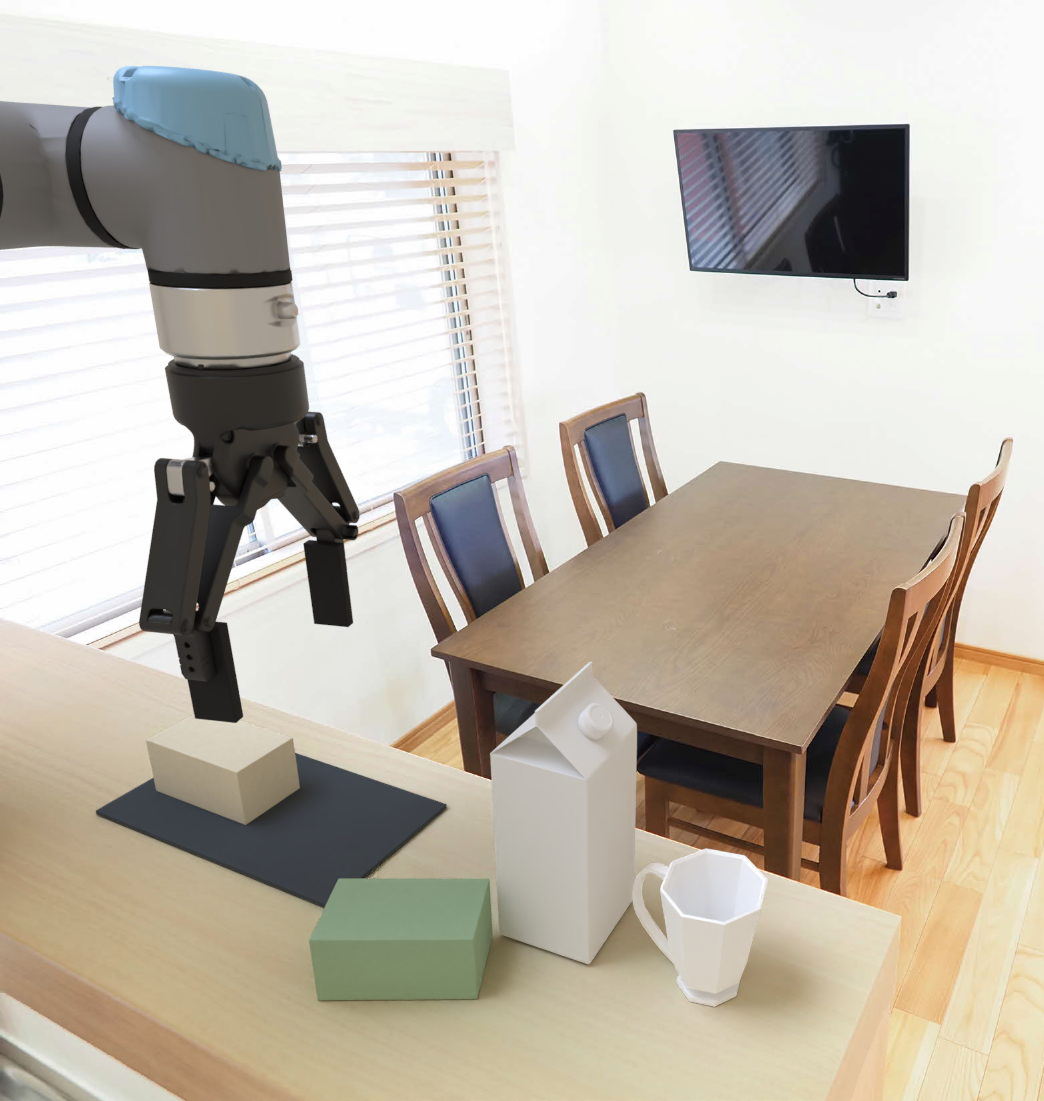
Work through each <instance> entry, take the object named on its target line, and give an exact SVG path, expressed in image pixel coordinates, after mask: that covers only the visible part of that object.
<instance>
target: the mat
mask: <svg viewBox="0 0 1044 1101" xmlns="http://www.w3.org/2000/svg"><path fill="white" fill-rule="evenodd" d="M295 756H296V763H297V771H298V778H299V785H300V788H299V789H298V790H296V791H295V792H293V793H292V794H290V795H289V796H288V797H286V798H285V799H283V800H282V801H280V802H279V803H277V804H276V805H274V806H273V807H271V808H270V809H269V810H267V811H266V812H264V813H263V814H261V815H260V816H258V817H257V818H255V819H254V820H252V821H251V822H250V823H248V824H247V825H244V824H241V823H239V822H236V821H234V820H231V819H228V818H226V817H223V816H221V815H218V814H215V813H213V812H210V811H208V810H205V809H202V808H200V807H197V806H195V805H192V804H189V803H187V802H184V801H182V800H179V799H176V798H174V797H171V796H169V795H166V794H163V793H161V792H158V791H156V787H155V782H154V777H151V778H150V779H148V780H146V781H145V782H143V783H141V784H140V785H138V786H136V787H134V788H133V789H131V790H129V791H128V792H125V793H124V794H122V795H120V796H119V797H116V798H115V799H113V800H112V801H110V802H108V803H107V804H104V805H103V806H102V807H101V806H100V807H99V808H98V809H96V810H95V815H96V816H99V817H102V818H104V819H106V820H109V821H111V822H113V823H116V824H118V825H120V826H124V827H126V828H128V829H131V830H133V831H136V832H138V833H139V834H143V835H146V836H148V837H150V838H152V839H155V840H157V841H160V842H163V843H165V844H167V845H170V846H172V847H175V848H177V849H179V850H182V851H184V852H187V853H189V854H191V855H194V856H196V857H199V858H202V859H204V860H206V861H209V862H211V863H214V864H216V865H219V866H221V867H224V868H225V869H228V870H230V871H233V872H235V873H238V874H240V875H243V876H246V877H248V878H250V879H253V880H255V881H258V882H260V883H262V884H265V885H267V886H270V887H272V888H275V889H277V890H280V891H282V892H285V893H287V894H289V895H292V896H294V897H297V898H299V899H302V900H304V901H306V902H309V903H312V904H314V905H316V906H318V907H321V908H323V909H324V908H325V906H326V904H327V902H328V899H329V897H330V895H331V893H332V891H333V889H334V887H335V885H336V883H337V881H338V879H366V878H367V877H368V876H369V875H371V874H372V873H373V872H374V871H375V870H376V869H377V868H378V867H380V866H381V865H382V864H383V863H384V862H385V861H387V860H388V859H389V858H391V857H392V855H394V854H395V853H396V852H397V851H398V850H399V849H401V848H402V847H403V846H404V845H405V844H407V843H408V842H409V841H410V840H411V839H412V838H413V837H415V836H416V835H417V834H418V833H420V832H421V830H423V829H424V828H425V827H426V826H428V825H429V824H430V823H431V822H432V821H433V820H435V818H437V817H438V816H439V815H440V814H442V813H443V812H444V811H445V810H446V809H447V808H448V807H447V803H444V802H441V801H439V800H435V799H432V798H430V797H427V796H424V795H420V794H418V793H414V792H413V791H409V790H406V789H403V788H401V787H397V786H394V785H391V784H388V783H386V782H383V781H381V780H376V779H374V778H370V777H367V776H365V775H362V774H359V773H356V772H353V771H351V770H347V769H345V768H341V767H339V766H335V765H332V764H330V763H327V762H323V761H321V760H318V759H315V758H312V757H310V756H306V755H303V754H301V753H298V752H295Z"/></svg>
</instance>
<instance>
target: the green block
mask: <svg viewBox="0 0 1044 1101" xmlns="http://www.w3.org/2000/svg"><path fill="white" fill-rule="evenodd" d="M492 913H493V912H492V898H491V880H490V878H364V879H338V881H337V883H336V885H335V887H334V889H333V891H332V893H331V895H330V897H329V899H328V902H327V904H326V906H325V908H323V910H322V912H321V914H320V916H319V918H318V921H317V922H316V924H315V927H314V929H313V930H312V933H311V935H310V937H309V939H308V943H309V949H310V956H311V963H312V970H313V977H314V984H315V991H316V998H317V1001H399V1000H401V1001H403V1000H405V1001H406V1000H408V1001H409V1000H411V1001H414V1000H417V1001H418V1000H477V999H479V998H478V997H479V994H480V990H481V986H482V981H483V979H484V978H483V977H484V973H485V968H486V964H487V961H488V956H489V952H490V949H491V944H492V940H493V936H494V935H493V934H494V933H493V914H492Z"/></svg>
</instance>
